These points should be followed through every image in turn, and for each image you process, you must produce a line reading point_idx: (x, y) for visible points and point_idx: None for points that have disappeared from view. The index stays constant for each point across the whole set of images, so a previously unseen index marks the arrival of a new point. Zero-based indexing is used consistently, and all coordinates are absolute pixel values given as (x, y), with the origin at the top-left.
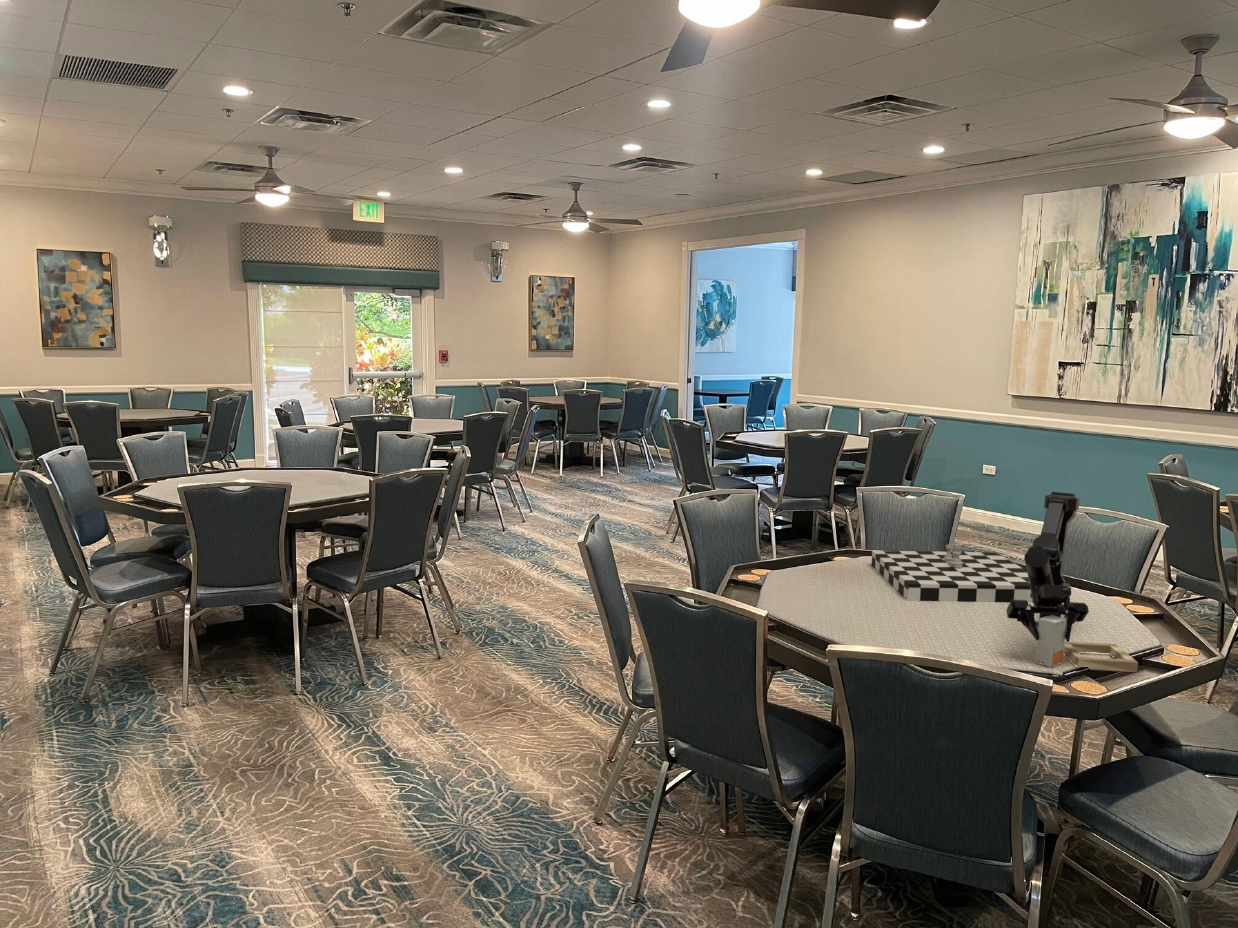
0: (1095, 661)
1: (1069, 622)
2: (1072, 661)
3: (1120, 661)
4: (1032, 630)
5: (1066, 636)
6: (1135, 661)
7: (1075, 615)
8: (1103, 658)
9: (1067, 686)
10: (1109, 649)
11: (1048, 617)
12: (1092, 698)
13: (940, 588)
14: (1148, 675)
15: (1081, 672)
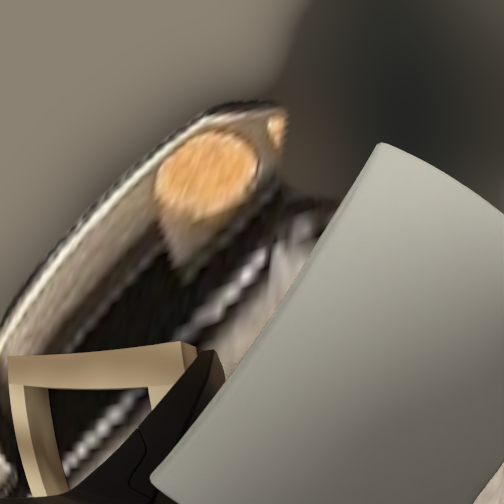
0: (114, 350)
1: (132, 475)
2: None
3: (39, 356)
4: None
5: (217, 384)
6: (10, 365)
7: (8, 499)
8: (78, 382)
9: (267, 151)
10: None
11: (496, 390)
12: (216, 111)
13: None
14: (18, 338)
15: (191, 305)
